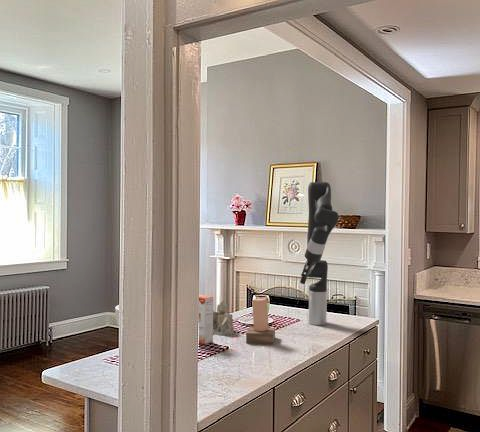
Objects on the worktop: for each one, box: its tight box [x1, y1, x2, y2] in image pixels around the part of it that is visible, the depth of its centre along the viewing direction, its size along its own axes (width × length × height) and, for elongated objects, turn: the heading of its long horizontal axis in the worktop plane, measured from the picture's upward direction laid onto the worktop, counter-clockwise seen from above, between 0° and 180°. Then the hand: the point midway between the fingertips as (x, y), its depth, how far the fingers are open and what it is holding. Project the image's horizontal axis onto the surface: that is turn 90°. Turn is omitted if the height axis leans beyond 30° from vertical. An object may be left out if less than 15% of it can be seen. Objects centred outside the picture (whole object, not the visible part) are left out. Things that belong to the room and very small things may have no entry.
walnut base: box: [245, 326, 276, 346], centre depth 226 cm, size 12×12×5 cm
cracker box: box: [198, 294, 214, 345], centre depth 224 cm, size 14×6×21 cm, turn 51°
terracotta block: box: [251, 297, 269, 331], centre depth 227 cm, size 5×5×14 cm
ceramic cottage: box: [213, 299, 235, 336], centre depth 242 cm, size 16×16×15 cm
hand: (304, 279), depth 230 cm, fingers open, 8 cm apart
